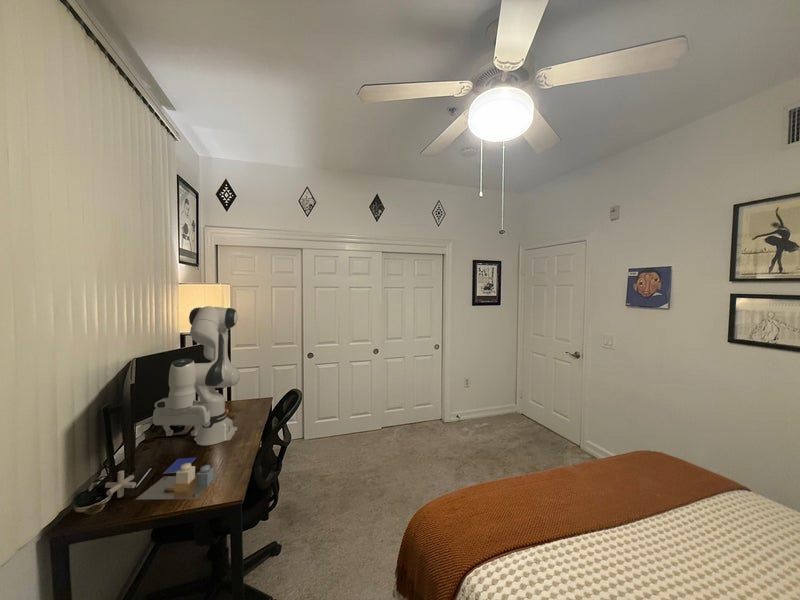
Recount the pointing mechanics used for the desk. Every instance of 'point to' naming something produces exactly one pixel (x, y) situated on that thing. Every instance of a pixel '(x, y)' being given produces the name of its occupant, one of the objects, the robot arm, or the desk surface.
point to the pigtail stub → (183, 488)
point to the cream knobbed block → (185, 474)
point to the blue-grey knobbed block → (205, 475)
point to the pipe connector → (120, 484)
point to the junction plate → (169, 482)
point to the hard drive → (178, 465)
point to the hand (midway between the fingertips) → (181, 435)
